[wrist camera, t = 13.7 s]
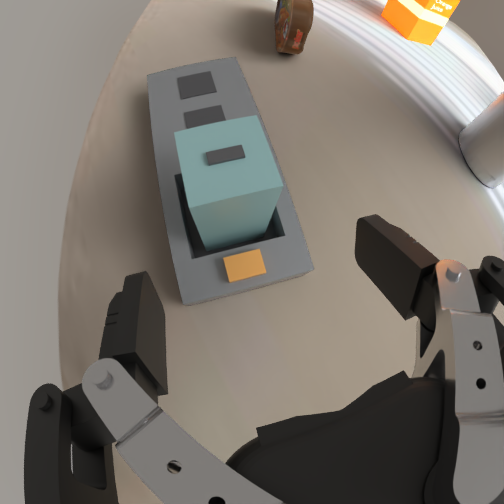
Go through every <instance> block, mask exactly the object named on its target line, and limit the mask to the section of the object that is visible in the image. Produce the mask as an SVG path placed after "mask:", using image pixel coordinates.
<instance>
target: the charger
mask: <svg viewBox="0 0 504 504" xmlns="http://www.w3.org/2000/svg"><path fill="white" fill-rule="evenodd" d="M174 135H175V141H176V146H177V152H178V157H179V162H180V167H181V172H182V177H183V182H184V187H185V192H186V196H187V201H188V206H189V209H190V212H191V214H192V217H193V219H194V222H195V224H196V227H197V229H198V232H199V234H200V236H201V239H202V241H203V244H204V246H205V248H206V251H210V250H214V249H218V248H222V247H225V246H229V245H233V244H237V243H241V242H245V241H249V240H253V239H257V238H260V237H264V234H265V232H266V229H267V226H268V224H269V221H270V219H271V216H272V214H273V211H274V209H275V206H276V204H277V201H278V199H279V196H280V194H281V191H282V188H283V183H282V180H281V177H280V174H279V172H278V169H277V166H276V164H275V161H274V158H273V155H272V153H271V150H270V148H269V145H268V142H267V140H266V137H265V134H264V132H263V129H262V127H261V124H260V122H259V119H258V117H257V115H254V116H248V117H242V118H237V119H231V120H226V121H221V122H216V123H212V124H207V125H202V126H198V127H194V128H190V129H186V130H182V131H178V132H174Z"/></svg>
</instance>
